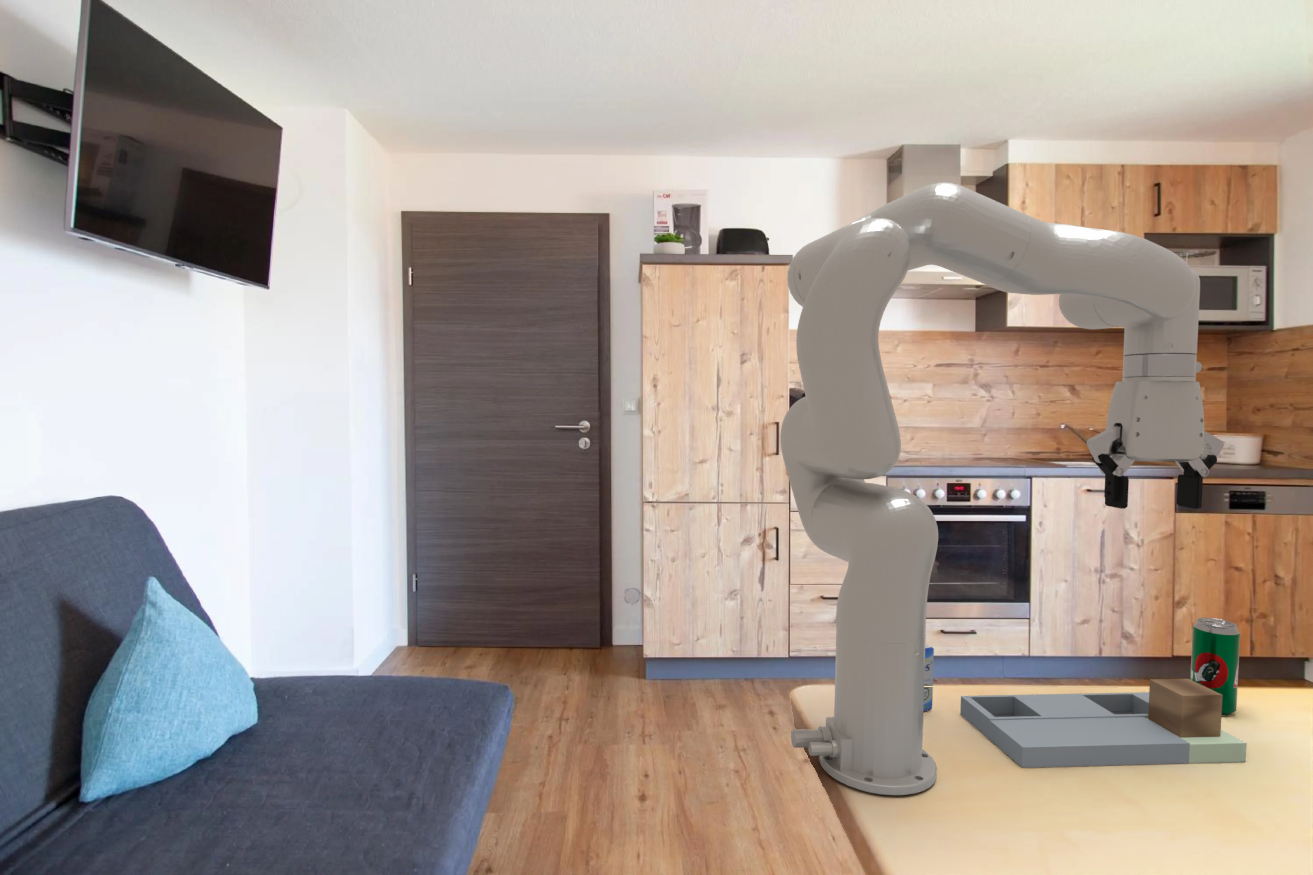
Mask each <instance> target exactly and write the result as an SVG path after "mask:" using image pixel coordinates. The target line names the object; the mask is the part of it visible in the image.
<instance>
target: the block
mask: <svg viewBox="0 0 1313 875" xmlns="http://www.w3.org/2000/svg"><path fill="white" fill-rule="evenodd" d="M1148 690H1149V691H1148V692H1149V710H1148V719H1149V720H1151V721H1152V722H1154V723H1156V724H1158V725H1159V726H1161V727H1163V728H1165V729H1166V730H1168V731H1170V732H1172V733H1173V734H1175V735H1177V736H1178V737H1180V738H1186V737H1220V735H1221V730H1222V694H1219V693H1217V692H1215V691H1213V690H1211V689H1209V688H1207V687H1205V686H1202V685H1200V684H1198V683H1196V682H1194V681H1192V680H1190V679H1189V678H1156V679H1155V678H1152V679H1149V689H1148Z"/></svg>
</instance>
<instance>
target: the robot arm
mask: <svg viewBox="0 0 1313 875" xmlns="http://www.w3.org/2000/svg"><path fill="white" fill-rule="evenodd" d="M930 265H931V266H937V267H941V268H943V269H945V270H948V271H951V272H953V273H955V274H958V275H961V276H963V277H966V278H968V279H970V280H974V281H976V282H978V283H980V284H984V285H985V286H988V287H991V288H993V289H995V290H998V291H1001V292H1004V293H1010V294H1016V295H1017V294H1019V295H1031V296H1039V295H1040V296H1044V295H1047V296H1048V295H1059V296H1058V307H1059V310H1060V313H1061V314H1062V316H1063V317H1064V319H1066V321H1067V322H1069V323H1070V324H1072V325H1073V326H1076V327H1078V328H1081V329H1086V330H1102V329H1109V328H1110V329H1111V328H1112V329H1113V328H1123V329H1124V333H1123V336H1124V338H1123V356H1122V357H1123V360H1122V381H1116V382H1115V384H1114V387H1113V390H1112V394H1111V397H1110V402H1109V405H1108V411H1107V416H1106V417H1107V418H1106V424H1105V430H1104V431H1101V432H1100V433H1098V434H1096V435H1093V436H1092V437H1091V438H1089V439H1087V440H1086V446H1087V448H1088V451H1089V452H1090V454H1091V456H1092V457H1091V458H1092V461H1093V463H1094V464H1095V465H1096V466H1097V467H1098V468H1099V470H1100V473H1101V474H1103V475H1104V492H1103V493H1104V505H1105V506H1106V507H1110V508H1115V509H1121V510H1122V509H1127V508H1128V506H1129V484H1130V482H1129V481H1130V480H1129V476H1126V475H1125V473H1126V472H1127V471H1128V470H1129V469H1130V467H1131V466H1132V465H1134V463H1135V462H1175V464H1176V465H1177V466H1178V468H1179V469H1180V470H1181V472H1182V473H1183V474H1178V476H1177V484H1176V505H1177V506H1178V507H1182V508H1189V509H1194V510H1197V509H1199V510H1200V509H1201V508H1202V503H1203V487H1204V486H1203V483H1204V478H1206V477H1208V476H1209V473H1210V470H1211V469H1212V467H1213V466H1214V465H1215V464H1217V462H1218V457H1219V455H1220V454H1221V452H1222V450H1223V448H1224V446H1225V443H1224V441H1223V440H1221V439H1219V438H1218V437H1216V436H1215V435H1213V434H1211V433H1210V432H1208V431H1206V430H1205V414H1204V404H1203V401H1204V400H1203V396H1202V389H1201V384H1200V381H1196V380H1197V379H1196V377H1197V373H1200V372H1202V369H1203V365H1202V363H1201V362H1199V361H1197V358H1198V357H1197V356H1198V355H1197V354H1198V338H1199V335H1198V334H1199V320H1200V318H1199V314H1200V298H1201V279H1200V276H1199V274H1198V273H1197V271H1195V270H1193V269H1192V268H1191V267H1190V265H1188V263H1187V262H1186V261H1185V260H1184V259H1183V258H1182V257H1181V256H1179V255H1178V254H1177V253H1175V252H1174V251H1172V250H1170V249H1168V248H1167V247H1164V246H1161V245H1160V244H1158V243H1155V242H1153V241H1150V240H1149V239H1146V238H1143V237H1140V236H1138V235H1134V234H1131V233H1126V232H1122V231H1116V230H1111V229H1110V230H1109V229H1101V228H1096V227H1095V228H1094V227H1086V226H1080V225H1074V224H1067V223H1056V222H1047V221H1043V220H1040V219H1038V218H1035V217H1033V216H1030V215H1028V214H1026V213H1024V212H1022V211H1019V210H1017V209H1015V208H1013V207H1010V206H1008V205H1007V204H1004V203H1001V202H999V201H997V200H994V199H992V198H990V197H987V196H986V195H983V194H981V193H979V192H976V191H973V190H972V189H970V188H967V187H965V186H962V185H961V184H956V183H952V182H936V183H932V184H929V185H926V186H924V187H921V188H919V189H917V190H914V191H911V192H910V193H907V194H905V195H903V196H900V197H898V198H897V199H895V200H892V201H890V202H888V203H886V204H883V205H882V206H880V207H879V208H877V209H875V210H873V211H871V212H870V213H867V214H866V215H864V216H862V217H860V218H859V219H857V220H855V221H853V222H851V223H849V224H848V223H847V225H845V226H842V227H840V228H838V229H836V230H834V231H832V232H830V233H828V234H826V235H824V236H822V237H819V238H818V239H816V240H813V241H811V242H810V243H809V242H808V243H807V244H805V245H804V246H802V247H801V248H800V249H799V250H798V251H797V252H796V253H795V255H794V256H793V258H792V260H791V261H790V264H789V266H788V271H787V286H788V290H789V292H790V294H791V297H792V299H793V300H794V301H795V302H796V303H797V304H798V305H799V306H801V307H802V309H801V312H800V315H799V319H798V324H797V328H796V329H797V331H796V340H795V342H796V356H797V361H798V362H797V364H798V368H799V371H800V377H801V382H802V386H803V390H804V395H805V396H803V397H802V398H800V399H798V400H796V401H795V402H794V403H793V404H792V405H791V406H790V407H789V409H788V410H787V412H786V413H785V415H784V418H783V420H782V424H781V428H780V437H779V438H780V449H781V450H780V451H781V456H782V458H783V462H784V466H785V470H786V473H787V477H788V480H789V484H790V487H791V491H792V494H793V498H794V502H795V505H796V508H797V511H798V515H799V518H800V522H801V524H802V526H803V529H804V531H805V533H806V535H807V537H808V538H809V540H810V541H811V542H812V543H813V545H814V546H816V547H817V548H818V549H819V550H821V551H823V552H824V553H826V554H828V555H830V556H832V557H835V558H837V559H839V560H843V561H845V562H847V563H848V564H847V565H848V566H847V570H846V573H845V576H844V578H843V580H842V584H841V586H840V589H839V593H838V596H837V603H836V614H835V616H836V617H835V619H836V620H835V628H836V630H835V632H836V634H835V663H834V664H835V667H834V668H835V669H834V670H835V674H834V706H833V707H834V709H833V716H832V717H831V716H828V717H825V725H820V726H818V727H817V729H808V728H804V729H803V728H801V729H800V728H798V729H794V728H793V729H791V732H790V739H791V740H790V741H791V746H792V747H793V748H794V749H795V748H796V749H798V748H807V749H808V753H809V756H811V757H812V756H814V757H817V756H818V761H819V763H820V766H821V767H822V768H823V770H824V771H825V772H826V773H827V774H828V775H829V776H831V777H832V778H833V779H835V780H836V781H837V782H840V783H842V784H844V785H846V786H847V787H851V788H853V789H856V790H859V791H863V792H866V793H870V794H876V795H882V796H883V795H885V796H908V795H914V794H917V793H920V792H924V791H926V790H927V789H930V788H931V787H932V786H933V784H935V782H936V781H937V780H936V779H937V771H938V770H937V769H938V768H937V763H936V761H935V760H934V758H933V757H932V755H930V754H929V753H928V752H927V751H926V750H924V749H923V735H924V734H923V732H924V730H923V729H924V712H923V706H924V673H925V644H926V642H927V641H926V633H927V632H926V629H927V625H926V624H927V623H926V622H927V608H928V607H927V605H928V593H929V587H930V586H929V585H930V580H931V577H932V576H931V575H932V571H933V567H934V564H935V560H936V555H937V550H938V544H939V543H938V542H939V529H938V528H939V527H938V524H937V521H936V517H935V515H934V513H933V512H932V510H931V509H930V508H929V506H928V504H926V503H925V502H924V501H923V500H922V499H920V497H918V496H916V495H915V494H913V493H911V492H909V491H907V490H904V489H901V488H898V487H893V486H889V485H884V484H878V483H872V482H871V483H870V482H866V481H865V480H872V479H876V478H880V477H881V476H884V475H886V474H888V473H889V472H890V471H891V470H892V469H893V468H894V467H895V466H896V465H897V463H898V461H899V458H900V456H901V451H902V441H901V434H900V429H899V424H898V420H897V417H896V413H895V409H894V405H893V402H892V398H891V394H890V390H889V387H888V383H887V379H886V375H885V372H884V367H883V362H882V356H881V352H880V345H879V335H880V334H879V333H880V332H879V331H880V326H881V322H882V321H881V320H882V319H883V316H884V313H885V310H886V308H887V306H888V304H889V302H890V300H892V297H893V296H894V295H895V293H896V291H897V290H898V289H899V287H900V286H901V285H902V283H903V282H904V279H905V278H906V275H907V274H908V272H909V271H911V270H915V269H919V268H922V267H925V266H930ZM1124 475H1125V476H1124Z"/></svg>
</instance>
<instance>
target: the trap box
mask: <svg viewBox="0 0 1313 875" xmlns="http://www.w3.org/2000/svg"><path fill="white" fill-rule="evenodd" d="M1148 710H1149V691H1148V692H1147V691H1143V692H1139V691H1137V692H1099V693H1098V692H1097V693H1095V692H1093V693H1091V692H1090V693H1087V692H1086V693H1047V694H1046V693H1045V694H1043V693H1042V694H1041V693H1040V694H1039V693H1037V694H1035V693H1034V694H999V695H998V694H991V695H988V694H987V695H979V694H978V695H960V715H961V716H962V717H963V719H965V720H966V721H968V722H969V723H970V724H971V725H972V726H974V728H975V729H977V731H979V732H980V733H981V734H982V735H984V736H985V737H986V738H987V739H988V740H989V741H991V743H993V744H994V745H995V746H996V747H997V748H999V749H1000V750H1001V751H1002V752H1003V753H1005V754H1006V755H1007V756H1008V757H1009V758H1010V759H1011V760H1012V761H1014V762H1015V763H1016V764H1017V765H1018V766H1019V767H1020V768H1023V769H1027V768H1028V769H1029V768H1030V769H1031V768H1063V767H1065V768H1066V767H1096V766H1097V767H1100V766H1103V767H1104V766H1105V767H1106V766H1134V765H1136V766H1137V765H1143V766H1144V765H1173V764H1174V765H1177V764H1207V763H1208V764H1211V763H1213V764H1214V763H1216V764H1217V763H1245V762H1247V746H1248V745H1247V744H1248V743H1247V742H1245V741H1244V740H1241V739H1239V738H1237V737H1236V736H1235V735H1232V734H1230V733H1229V732H1226V731H1224V730H1223V729H1221V735H1220V737H1186V738H1180V737H1178V736H1177V735H1175V734H1173V733H1172V732H1170V731H1168V730H1166V729H1165V728H1163V727H1161V726H1159V725H1158V724H1156V723H1154V722H1152V721H1151V720H1149V719H1148Z"/></svg>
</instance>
